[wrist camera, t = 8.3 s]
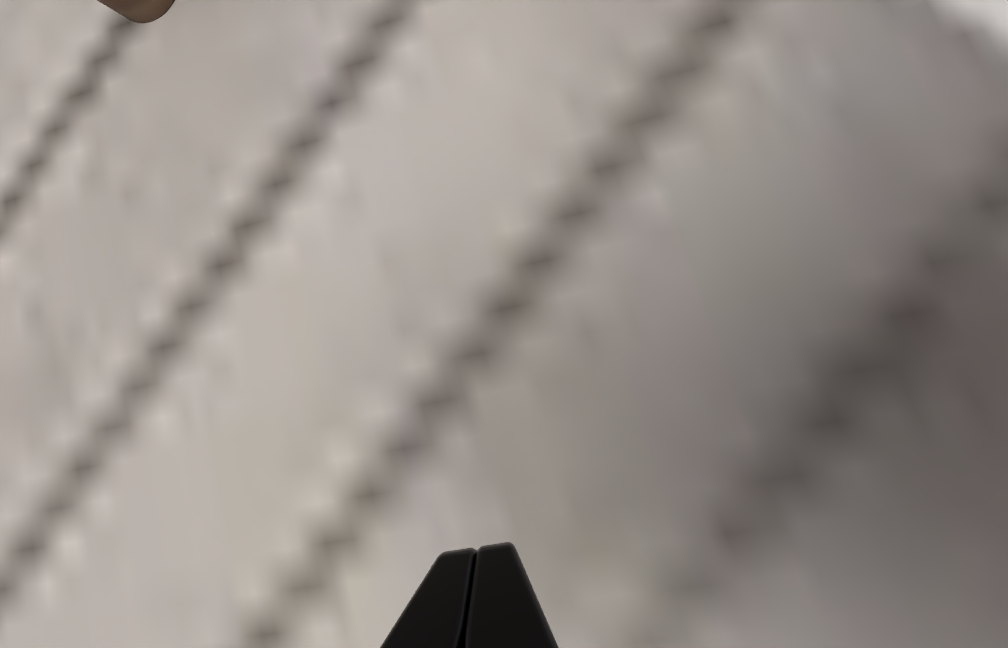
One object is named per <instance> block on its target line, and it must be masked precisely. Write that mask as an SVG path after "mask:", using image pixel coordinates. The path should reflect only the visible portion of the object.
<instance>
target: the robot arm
mask: <svg viewBox="0 0 1008 648" xmlns="http://www.w3.org/2000/svg"><path fill="white" fill-rule="evenodd" d="M380 648H558V646H557V643H556V641H555V639H554V636H553V634H552V632H551V629H550V627H549V625H548V622H547V620H546V618H545V615H544V613H543V611H542V608H541V606H540V604H539V601H538V599H537V597H536V595H535V592H534V590H533V588H532V585H531V583H530V581H529V578H528V576H527V574H526V571H525V569H524V567H523V564H522V562H521V560H520V557H519V555H518V553H517V550H516V548H515V546H514V545H513V544H512V543H510V542H506V543H500V544H493V545H486V546H482V547H480V548H479V549H478V551H477V550H475V549H473V548H467V549H460V550H454V551H447V552H444V553H442V554H441V555H439V556H438V558H437V559H436V561H435V562H434V564H433V565H432V567H431V569H430V570H429V572H428V573H427V575H426V576H425V578H424V580H423V581H422V583H421V584H420V586H419V587H418V589H417V591H416V592H415V594H414V595H413V597H412V598H411V600H410V602H409V603H408V605H407V606H406V608H405V609H404V611H403V613H402V614H401V616H400V617H399V619H398V620H397V622H396V624H395V625H394V627H393V628H392V630H391V632H390V633H389V635H388V636H387V638H386V639H385V641H384V643H383V644H382V646H381V647H380Z"/></svg>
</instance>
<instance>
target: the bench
mask: <svg viewBox="0 0 1008 648" xmlns="http://www.w3.org/2000/svg"><path fill="white" fill-rule="evenodd" d="M98 1H99V2H101V3H103V4H104V5H106V6H108V7H109V8H111V9H113V10H114V11H116V12H118V13H119V14H121V15H123V16H124V17H126V18H128V19H129V20H131V21H133V22H137V23H146V22H150V21H153V20H155V19H157V18H159V17H160V16H161V15H163V14H164V13H165V12H166V11H167V10H168V8H169V7H170V6H171V4H172V3H173V1H174V0H98Z"/></svg>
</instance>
